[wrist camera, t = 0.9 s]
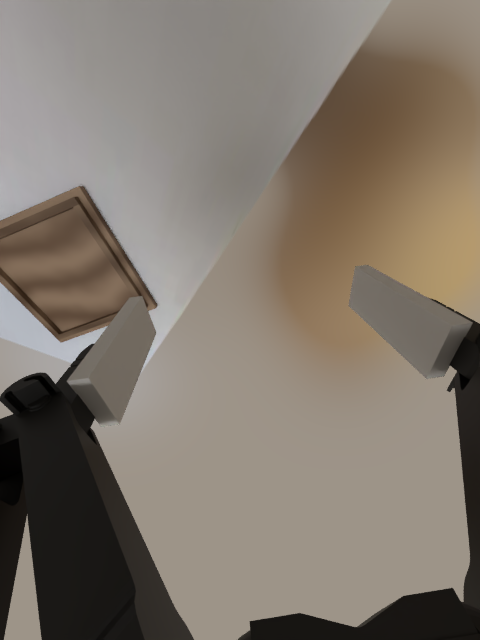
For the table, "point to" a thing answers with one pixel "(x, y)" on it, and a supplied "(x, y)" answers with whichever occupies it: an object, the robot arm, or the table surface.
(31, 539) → the robot arm
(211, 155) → the table surface
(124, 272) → the walnut tray
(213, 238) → the table surface
